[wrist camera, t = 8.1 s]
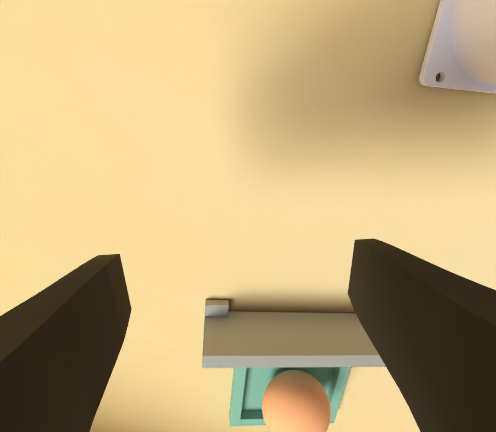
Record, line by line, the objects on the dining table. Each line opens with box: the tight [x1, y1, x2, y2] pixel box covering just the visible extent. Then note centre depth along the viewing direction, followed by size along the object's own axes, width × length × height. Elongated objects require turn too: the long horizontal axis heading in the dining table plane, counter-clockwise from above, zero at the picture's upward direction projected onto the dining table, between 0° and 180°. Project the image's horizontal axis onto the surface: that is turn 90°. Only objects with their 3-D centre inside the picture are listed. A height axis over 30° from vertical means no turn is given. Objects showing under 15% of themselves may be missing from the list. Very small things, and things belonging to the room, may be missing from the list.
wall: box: [202, 300, 386, 368], centre depth 22 cm, size 14×3×4 cm, turn 85°
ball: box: [262, 370, 331, 432], centre depth 23 cm, size 5×5×5 cm
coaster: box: [229, 367, 351, 426], centre depth 25 cm, size 9×9×1 cm
